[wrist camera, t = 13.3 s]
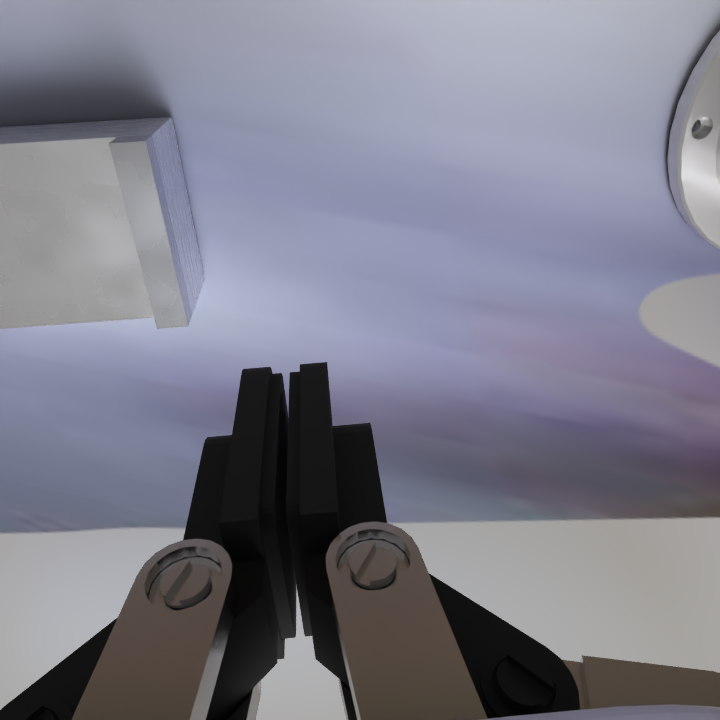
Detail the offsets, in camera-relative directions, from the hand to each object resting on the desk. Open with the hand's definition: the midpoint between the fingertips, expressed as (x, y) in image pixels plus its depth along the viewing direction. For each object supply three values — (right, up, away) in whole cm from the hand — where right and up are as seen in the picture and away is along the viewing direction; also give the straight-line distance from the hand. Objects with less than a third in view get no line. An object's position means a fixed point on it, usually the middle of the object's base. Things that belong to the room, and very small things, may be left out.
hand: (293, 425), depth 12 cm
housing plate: (-10, +8, +13) cm, 18 cm away
